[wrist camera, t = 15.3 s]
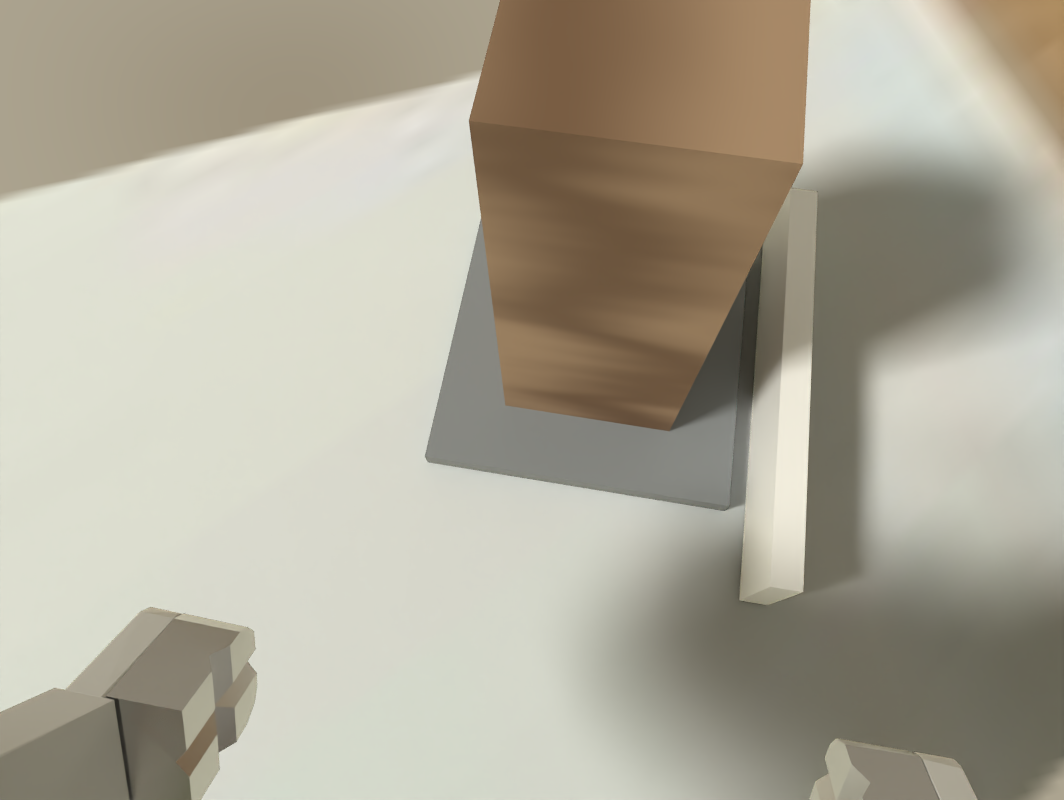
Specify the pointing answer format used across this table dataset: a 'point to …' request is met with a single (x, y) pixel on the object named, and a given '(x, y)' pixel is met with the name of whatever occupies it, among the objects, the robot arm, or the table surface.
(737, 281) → the walnut block
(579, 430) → the coaster
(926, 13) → the table surface
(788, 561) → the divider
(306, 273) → the table surface
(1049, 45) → the table surface
